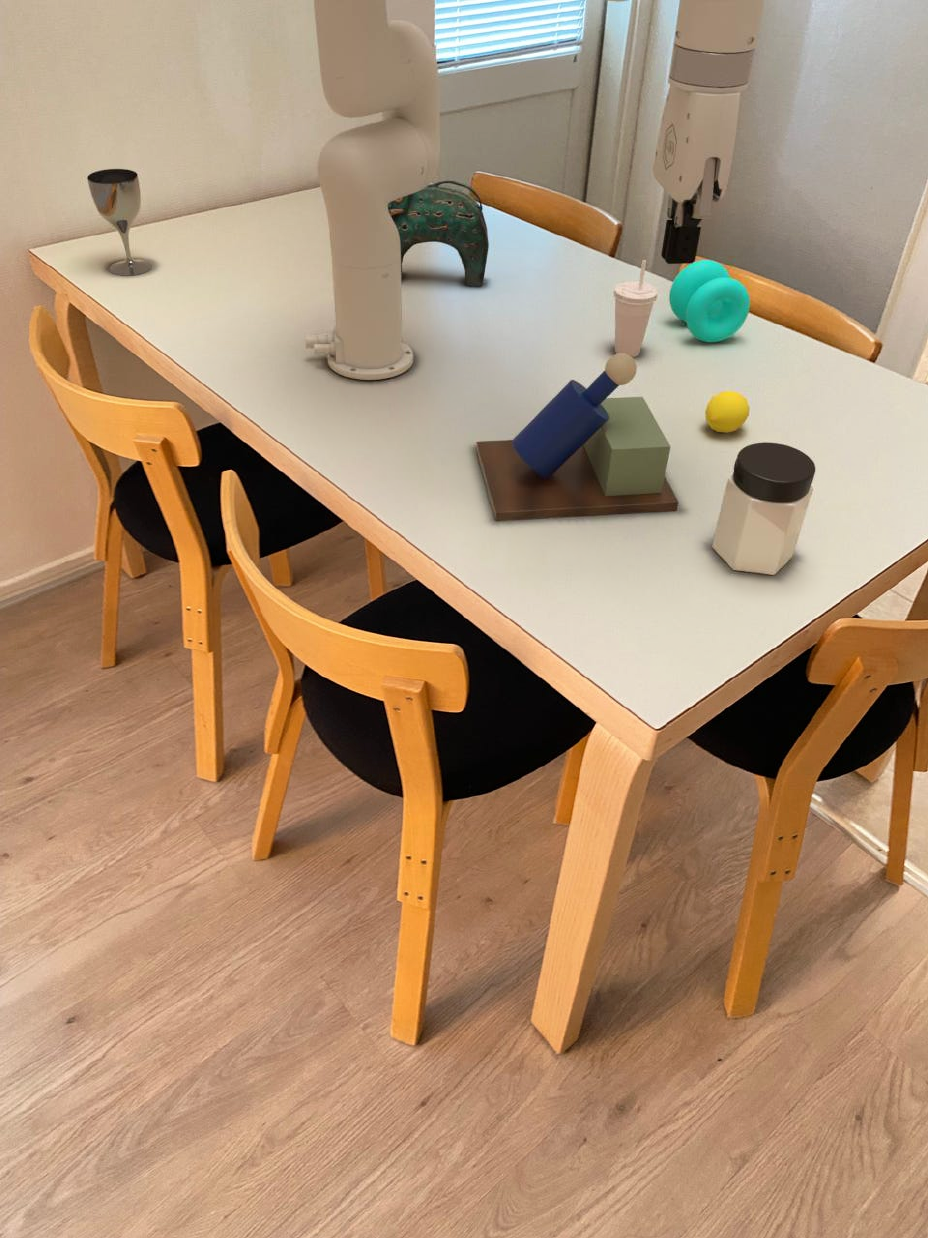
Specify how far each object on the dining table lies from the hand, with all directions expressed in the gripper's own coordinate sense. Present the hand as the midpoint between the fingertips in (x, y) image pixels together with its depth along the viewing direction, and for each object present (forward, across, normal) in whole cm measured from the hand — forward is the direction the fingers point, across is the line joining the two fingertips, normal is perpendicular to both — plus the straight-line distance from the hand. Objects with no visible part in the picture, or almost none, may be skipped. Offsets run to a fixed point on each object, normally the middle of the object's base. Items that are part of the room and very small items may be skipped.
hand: (677, 259), depth 104 cm
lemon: (+27, -10, +14) cm, 32 cm away
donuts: (+27, -40, +21) cm, 53 cm away
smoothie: (+27, -34, +7) cm, 44 cm away
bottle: (+26, 0, -10) cm, 28 cm away
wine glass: (+27, -73, -71) cm, 105 cm away
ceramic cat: (+27, -64, -20) cm, 72 cm away
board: (+27, 0, -9) cm, 28 cm away
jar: (+27, +17, +8) cm, 33 cm away
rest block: (+26, 0, -3) cm, 26 cm away
